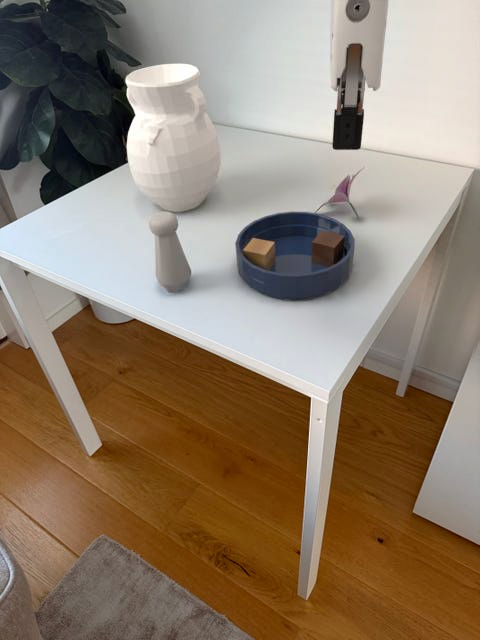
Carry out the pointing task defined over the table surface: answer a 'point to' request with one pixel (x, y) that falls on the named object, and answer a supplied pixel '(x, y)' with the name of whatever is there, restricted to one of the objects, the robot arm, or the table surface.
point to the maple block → (260, 253)
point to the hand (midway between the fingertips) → (346, 146)
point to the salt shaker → (169, 253)
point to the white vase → (171, 137)
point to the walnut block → (327, 248)
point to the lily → (342, 192)
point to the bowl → (294, 256)
